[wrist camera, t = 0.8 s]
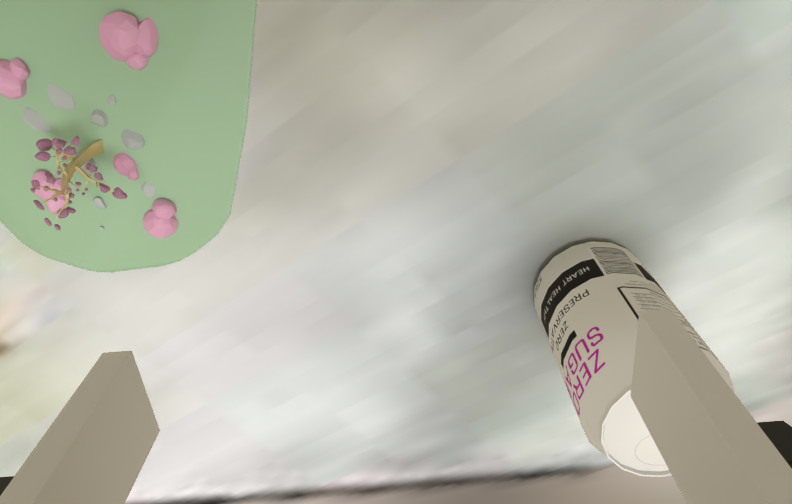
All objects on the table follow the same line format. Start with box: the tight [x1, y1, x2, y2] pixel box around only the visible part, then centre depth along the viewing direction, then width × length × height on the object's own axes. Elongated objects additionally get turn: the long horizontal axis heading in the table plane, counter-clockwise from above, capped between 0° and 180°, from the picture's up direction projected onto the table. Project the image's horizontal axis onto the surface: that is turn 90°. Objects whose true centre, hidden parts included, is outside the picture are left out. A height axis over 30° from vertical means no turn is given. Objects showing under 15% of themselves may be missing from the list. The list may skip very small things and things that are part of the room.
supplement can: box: [534, 241, 735, 477], centre depth 38 cm, size 8×8×15 cm
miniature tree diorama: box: [0, 0, 256, 272], centre depth 36 cm, size 25×21×9 cm
